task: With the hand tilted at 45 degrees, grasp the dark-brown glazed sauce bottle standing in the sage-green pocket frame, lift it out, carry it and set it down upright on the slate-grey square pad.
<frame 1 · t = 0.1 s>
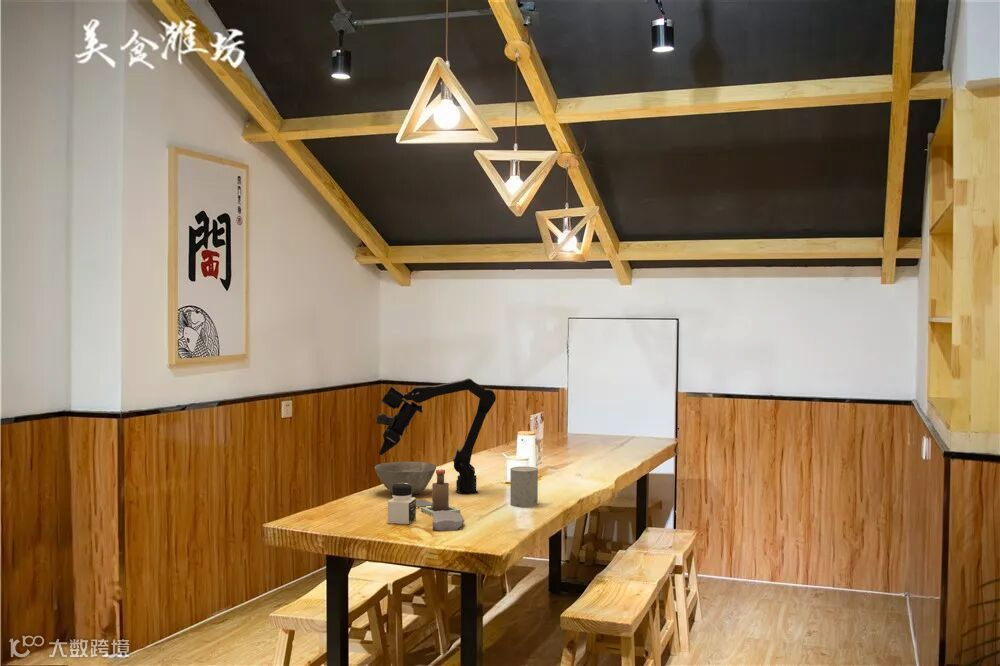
hand: (381, 452, 328), 15 cm above the table, tool tilted 35°, fingers open, 9 cm apart
ceramic bowl: (405, 494, 329), on the table
stone block: (448, 527, 278), on the table
grey matte cylinder: (524, 505, 310), on the table
slate pad: (417, 504, 309), on the table
sauce bottle: (440, 491, 297), in the pocket frame
pocket frame: (440, 512, 297), on the table
medicine bottle: (401, 522, 284), on the table
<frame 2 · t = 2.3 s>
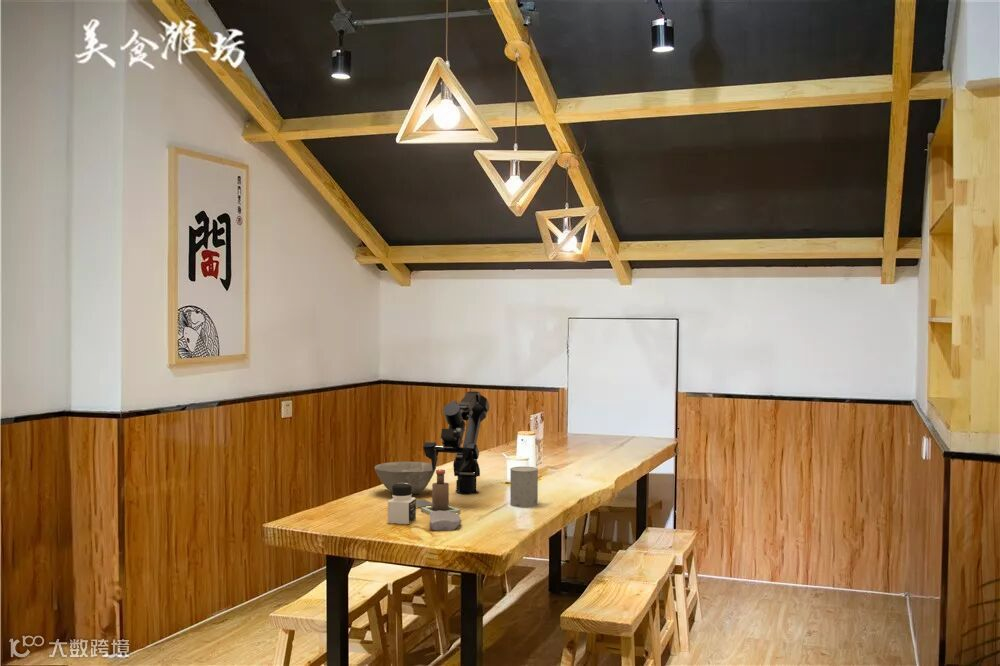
hand: (446, 470, 303), 13 cm above the table, tool tilted 45°, fingers open, 9 cm apart
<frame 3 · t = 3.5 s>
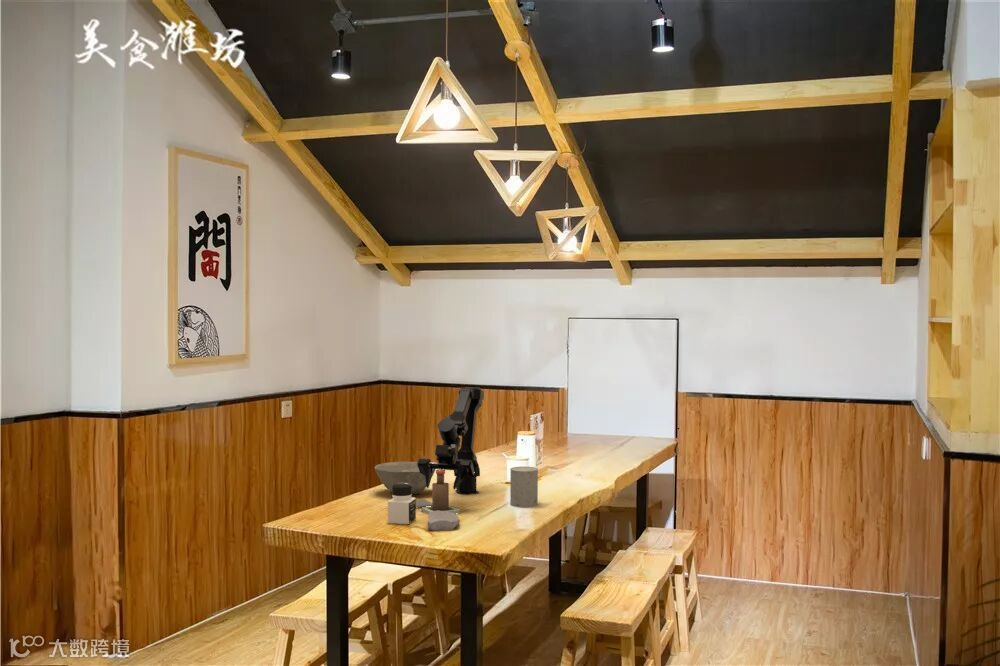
hand: (440, 487, 297), 8 cm above the table, tool tilted 45°, fingers open, 9 cm apart
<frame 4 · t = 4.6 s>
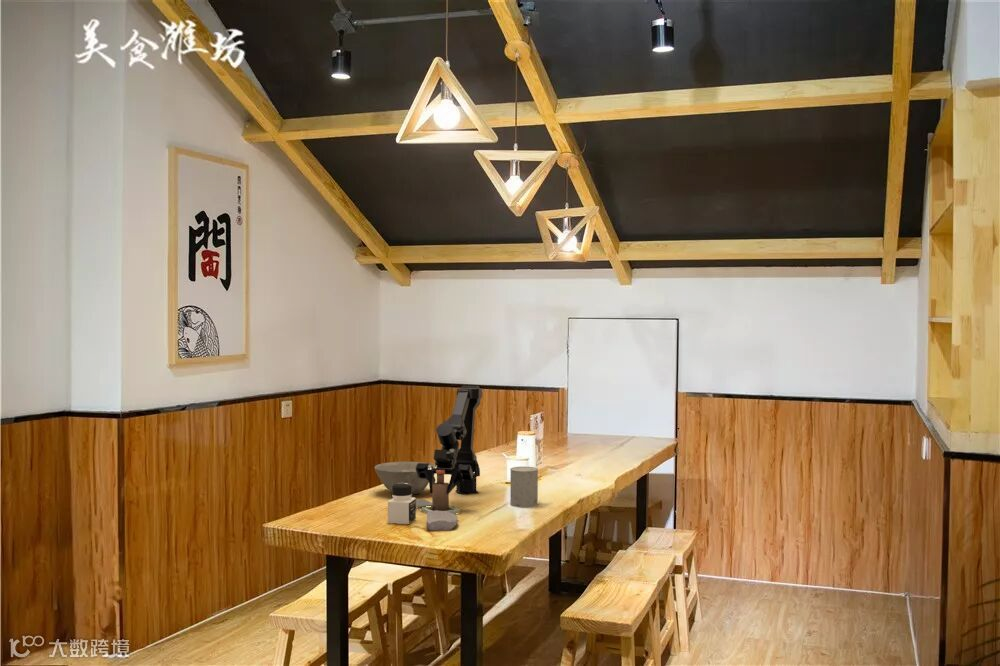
hand: (439, 492, 296), 7 cm above the table, tool tilted 45°, fingers closed on sauce bottle, 5 cm apart
sauce bottle: (440, 491, 297), in the pocket frame, touching gripper
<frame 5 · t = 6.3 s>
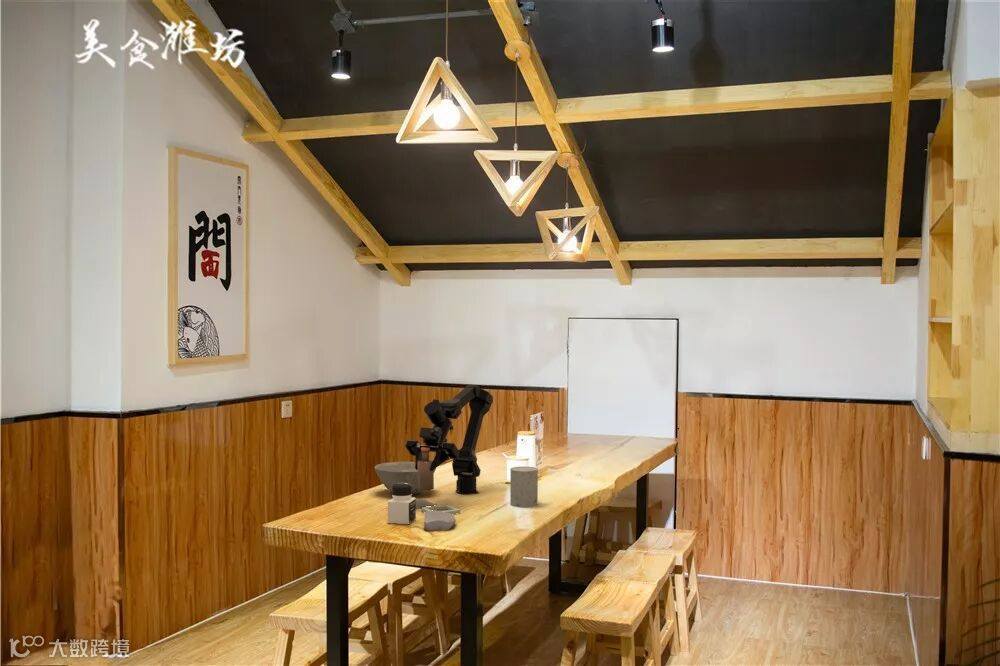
hand: (423, 469, 302), 13 cm above the table, tool tilted 45°, fingers closed on sauce bottle, 5 cm apart
sauce bottle: (425, 468, 303), point 14 cm above the table, touching gripper
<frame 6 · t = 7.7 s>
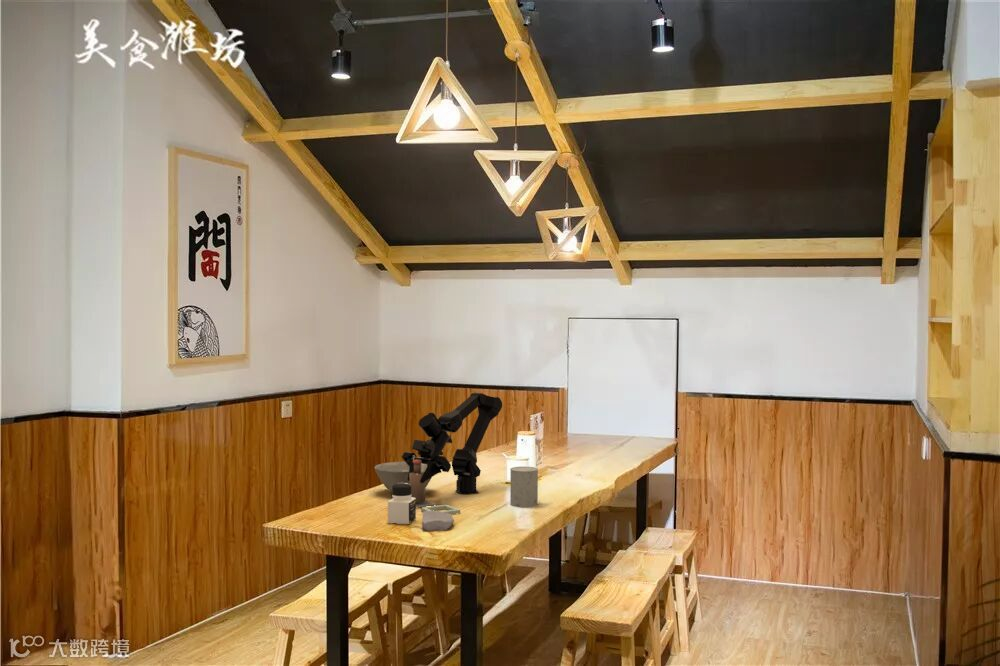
hand: (414, 481, 308), 8 cm above the table, tool tilted 45°, fingers closed on sauce bottle, 5 cm apart
sauce bottle: (417, 480, 309), point 8 cm above the table, touching gripper
when the fingers open (8 cm above the table, at t = 8.1 s): sauce bottle stays where it is, resting on slate pad.
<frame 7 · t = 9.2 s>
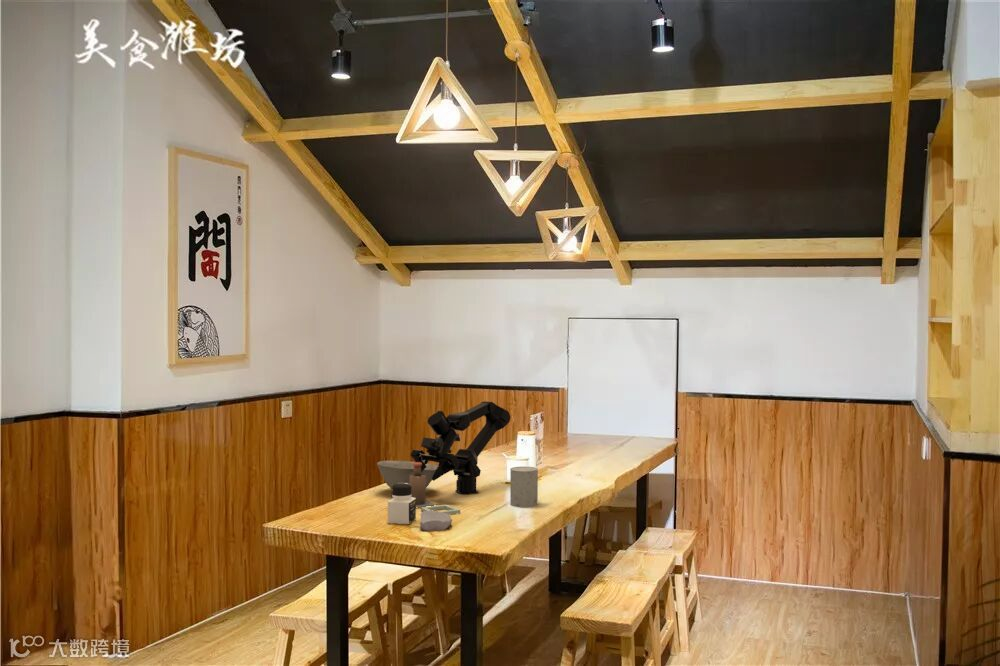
hand: (423, 478, 311), 9 cm above the table, tool tilted 45°, fingers open, 8 cm apart
ceramic bowl: (406, 492, 329), on the table, touching gripper
sauce bottle: (417, 483, 309), on the slate pad
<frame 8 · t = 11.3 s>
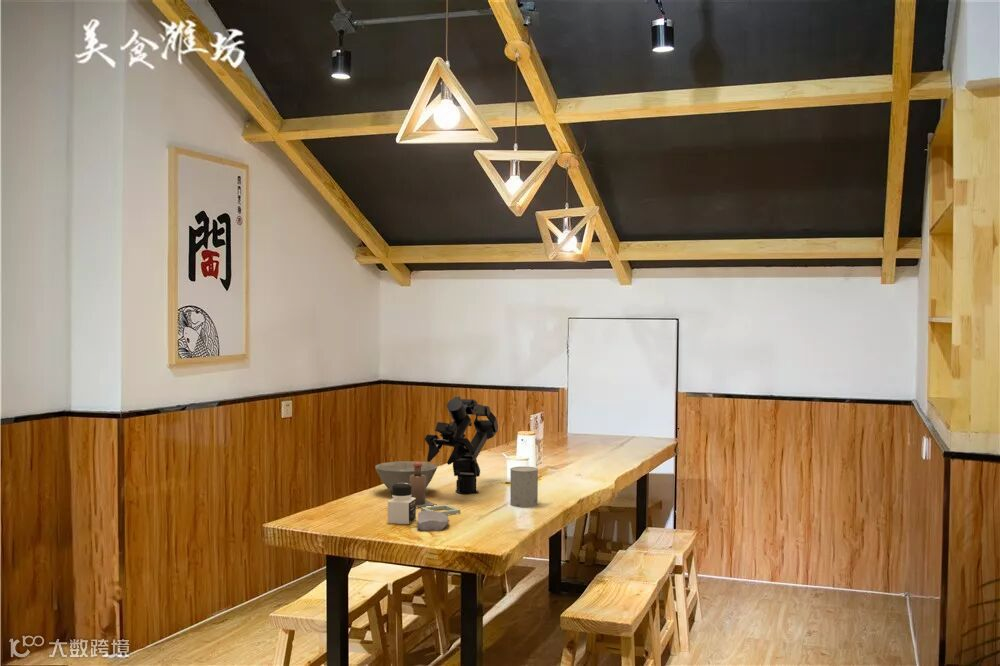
hand: (437, 462, 314), 14 cm above the table, tool tilted 45°, fingers open, 9 cm apart
ceramic bowl: (406, 493, 330), on the table
at the end: sauce bottle inside the target area on the slate pad (0.1 cm from its centre), point 7.5 cm above the slate pad's base; sauce bottle tilted 0°; the gripper is holding nothing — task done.
